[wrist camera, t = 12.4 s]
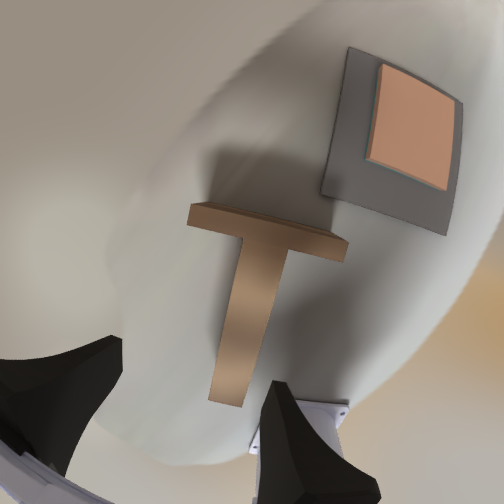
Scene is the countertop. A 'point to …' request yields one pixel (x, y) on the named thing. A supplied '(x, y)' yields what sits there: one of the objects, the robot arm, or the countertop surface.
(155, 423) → the countertop surface
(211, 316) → the countertop surface
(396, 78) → the tile
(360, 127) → the mat
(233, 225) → the wooden t-shaped piece
